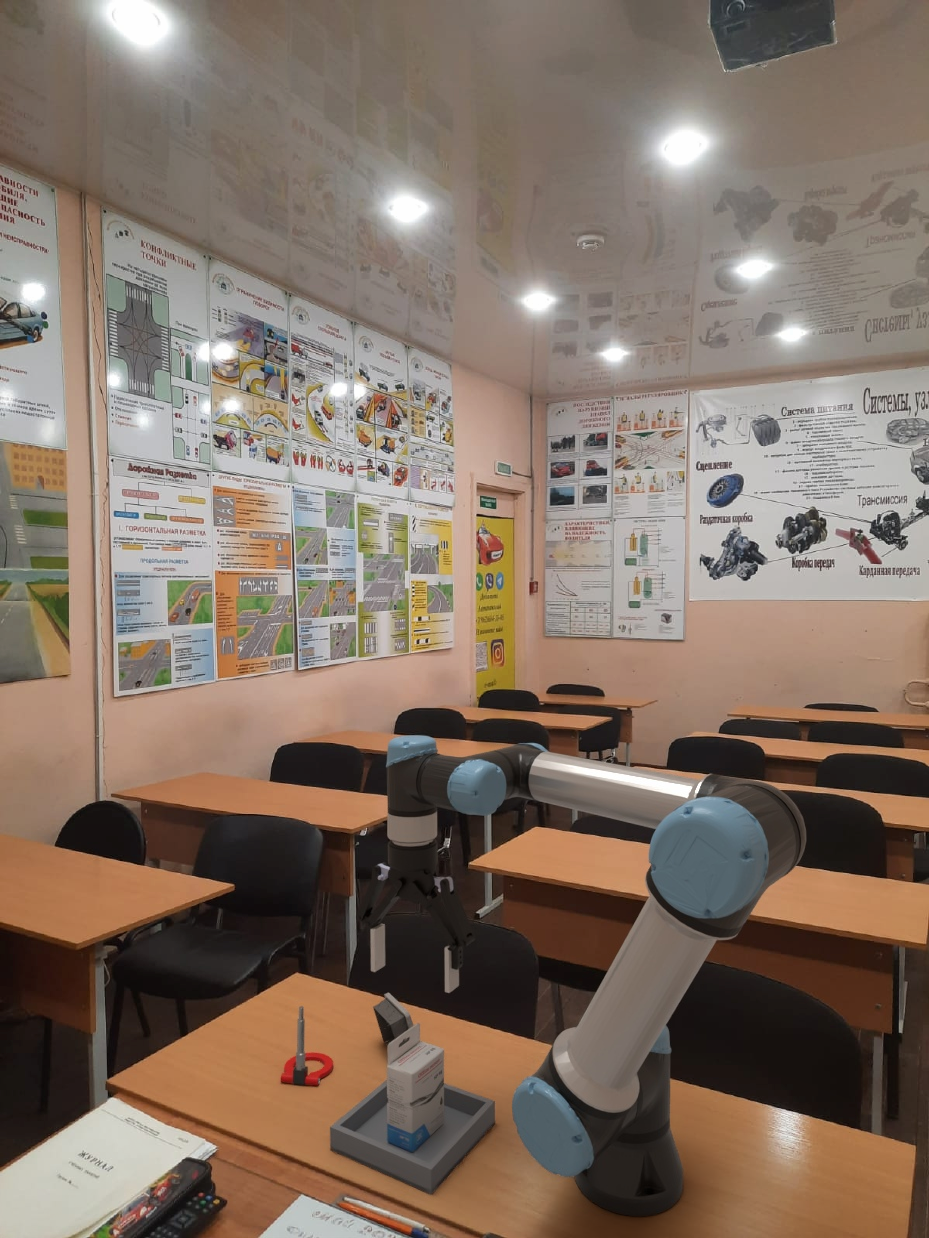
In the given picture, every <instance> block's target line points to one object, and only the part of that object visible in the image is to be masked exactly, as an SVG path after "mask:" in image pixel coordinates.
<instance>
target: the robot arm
mask: <svg viewBox="0 0 929 1238" xmlns="http://www.w3.org/2000/svg"><path fill="white" fill-rule="evenodd" d="M386 751H387V752H386V765H385V769H386V786H387V787H386V788H387V789H386V792H387V794H386V795H387V797H386V798H387V799H386V800H387V813H386V814H387V816H386V818H387V822H386V823H387V826H386V827H387V834H386V835H387V838H388V839H389V841H388V842H387V862H385V861H383V862H382V863H378V864H377V865H375V866H374V865H373V866H372V868H371V880H370V882H369V885H368V886H367V889H366V891H365V894H364V896H363V899H362V901H361V903H360V905H359V907H358V910H357V913H356V915H355V919H356V921H357V922H362V923H364V924H365V925H364V926H365V927H366V937H367V938H366V939H367V940H366V942H367V943H366V944H367V947H368V948H370V971H371V972H373V973H376V972H377V971H379V970H380V969H382V968H384V967H385V966H386V925H385V923H381V922H383V921H384V920H383V919H384V917H385V916H386V915H387V914H388V912H389V911H390V910H391V909H392V907H393V906H394V905H395V904H396V903H397V902H398V900H399V899H400V901H402V902H411V903H412V904H417V905H419V904H420V905H421V907H422V908H423V910H426V911H427V913H429V915H430V917H431V919H432V920H433V921H434V923H435V925H436V926H437V928H438V930H439V932H440V933H441V935H442V937H443V938H444V939H445V941H446V943H447V946H445V947H444V992H445V993H448V994H450V993H451V992H453V991H454V990H455V989H456V988H458V987H459V986H460V968H462V967H463V966H464V965H463V964H464V948H465V947H467V946H469V945H470V944H471V943H472V942H474V941H475V940H476V936H475V933H474V931H473V929H472V926H471V923H470V920H469V917H468V916H467V914H466V911H465V908H464V905H463V904H462V901H461V898H460V896H459V893H458V890H457V882H456V877H455V876H454V875H452V874H450V875H448V876H446V877H444V876H438V872H437V865H438V861H439V859H438V857H439V855H438V840H436V838H437V836H438V808H441V809H446V810H449V811H450V810H451V811H455V812H460V813H462V814H466V815H469V816H473V815H475V816H490V815H492V814H494V813H495V812H496V811H497V810H498V809H497V808H499V807H500V806H501V805H502V804H503V802H504V801H506V800H510V799H512V798H523V799H528V800H532V801H536V802H542V803H546V804H549V805H555V806H557V807H563V808H567V809H571V810H573V811H574V810H576V811H578V812H582V813H587V814H591V815H596V816H599V817H604V818H609V819H612V820H616V821H621V822H625V823H630V824H633V825H636V826H637V825H638V826H642V827H645V828H650V829H653V830H655V831H654V832H653V834H652V837H651V840H650V843H649V848H648V864H650V866H649V868H648V870H647V871H646V874H645V877H644V883H645V886H646V890H647V892H648V895H649V896H648V898H647V900H646V902H645V903H644V905H643V907H642V909H641V911H640V912H639V914H638V915H637V916H638V917H637V918H636V920H635V922H634V924H633V925H632V927H631V928H630V930H629V932H628V934H627V936H626V937H625V939H624V941H623V943H622V945H621V947H620V949H619V950H618V952H617V954H616V956H615V957H614V959H613V961H612V963H611V964H610V967H609V968H608V970H607V972H606V974H605V976H604V978H603V979H602V981H601V983H600V985H599V986H598V988H597V990H596V992H595V994H594V995H593V996H592V997H593V998H592V999H591V1000H590V1002H589V1005H588V1007H587V1009H586V1011H585V1012H584V1013H583V1015H582V1018H581V1020H580V1021H579V1023H578V1025H577V1026H575V1027H570V1028H567V1029H565V1030H563V1031H562V1032H560V1033H559V1034H558V1036H557V1037H556V1039H555V1040H554V1041H553V1044H552V1046H551V1048H550V1049H549V1051H548V1053H547V1055H546V1056H545V1059H544V1061H543V1062H542V1064H541V1065H540V1066H539V1068H538V1069H537V1070H536V1071H535V1072H534V1073H533V1074H532V1075H531V1076H530V1075H529V1076H527V1077H525V1078H524V1079H523V1080H522V1081H521V1084H519V1085H518V1086H517V1087H516V1089H515V1091H514V1092H513V1096H512V1099H511V1111H512V1118H513V1122H514V1124H515V1126H516V1132H517V1134H518V1136H519V1139H520V1141H521V1142H522V1143H523V1145H524V1147H525V1149H526V1151H527V1152H528V1153H529V1154H530V1156H531V1157H532V1158H533V1159H534V1160H535V1161H536V1162H537V1163H538V1165H540V1166H541V1167H542V1168H544V1169H545V1170H546V1171H547V1172H549V1173H551V1174H553V1175H559V1176H560V1177H563V1178H572V1177H574V1181H575V1183H576V1185H577V1187H578V1189H579V1190H580V1192H581V1193H582V1194H583V1195H584V1196H585V1197H586V1198H587V1199H589V1200H590V1201H591V1202H592V1203H594V1204H595V1205H596V1206H598V1207H600V1208H603V1209H605V1210H607V1211H608V1212H612V1213H615V1214H617V1215H622V1216H630V1217H647V1216H654V1215H658V1214H660V1213H664V1212H665V1211H667V1210H669V1209H671V1208H672V1207H673V1206H674V1205H675V1204H677V1202H679V1199H680V1198H681V1197H682V1195H683V1192H684V1191H683V1190H684V1170H683V1164H682V1163H683V1162H682V1160H681V1156H680V1153H679V1150H678V1148H677V1145H676V1142H675V1138H674V1136H673V1133H672V1130H671V1117H670V1116H671V1053H672V1047H671V1044H670V1041H671V1040H670V1031H669V1028H668V1026H667V1024H668V1022H669V1020H670V1019H671V1018H672V1015H673V1014H674V1013H675V1011H676V1009H677V1007H678V1006H679V1003H680V1002H681V1000H682V999H683V997H684V995H685V994H686V992H687V990H688V989H689V987H690V986H691V984H692V982H693V981H694V979H695V977H696V975H697V974H698V972H699V971H700V969H701V967H702V965H703V964H704V962H705V960H706V959H707V957H708V955H709V954H710V953H711V951H712V949H713V947H714V945H716V942H717V941H726V940H727V941H728V940H732V939H734V938H736V937H737V936H738V934H739V933H740V931H741V930H742V928H743V927H744V925H745V924H746V922H747V920H748V919H749V917H750V915H752V913H753V910H754V909H755V907H756V905H757V904H758V902H759V900H760V899H761V898H762V896H763V895H764V894H765V892H766V891H767V890H768V888H769V887H771V886H772V885H773V884H775V883H776V882H778V881H780V880H781V879H782V878H784V877H785V876H787V875H789V873H790V872H792V870H794V869H795V868H796V866H797V865H798V864H799V862H800V861H801V859H802V856H803V855H804V853H805V848H806V844H807V829H806V825H805V821H804V817H803V815H802V813H801V811H800V809H799V807H798V806H797V804H796V803H795V802H794V801H793V800H792V799H791V798H790V797H789V795H788V794H786V793H785V792H783V791H782V790H781V789H779V788H777V787H776V786H774V785H772V784H769V783H767V782H764V781H759V780H754V779H748V778H740V777H734V776H726V775H721V774H716V773H715V774H714V773H709V774H706V775H704V777H702V778H701V779H699V778H693V777H687V776H682V775H677V774H672V773H666V772H661V771H660V772H659V771H655V770H649V769H644V768H638V767H633V766H627V765H623V764H616V763H610V762H606V761H600V760H595V759H588V758H583V757H578V756H572V755H569V754H568V755H567V754H562V753H557V752H550V751H549V750H548V749H546V748H545V747H544V746H543V744H542V745H541V744H539V743H535V742H527V743H525V742H523V743H521V742H520V743H517V744H513V745H509V746H507V747H502V748H497V749H494V750H489V751H484V752H480V753H476V754H475V753H474V754H470V755H466V756H454V755H453V756H452V755H444V754H440V753H439V752H438V751H439V750H438V749H437V741H436V739H435V738H434V737H431V736H429V735H417V734H415V735H411V734H410V735H401V736H397V737H394V738H392V739H390V740H389V741H388V744H387V750H386ZM387 863H388V864H387ZM388 865H389V866H388ZM387 880H389V882H390V883H391V887H390V889H389V890H388V891H387V892H386V893H385V896H384V898H382V900H381V901H380V902H379V904H377V902H378V899H379V898H380V895H381V893H382V890H383V888H384V886H385V883H386V881H387ZM437 888H438V889H437ZM430 897H431V899H429V898H430ZM376 905H377V906H376ZM379 923H380V924H379Z"/></svg>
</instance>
